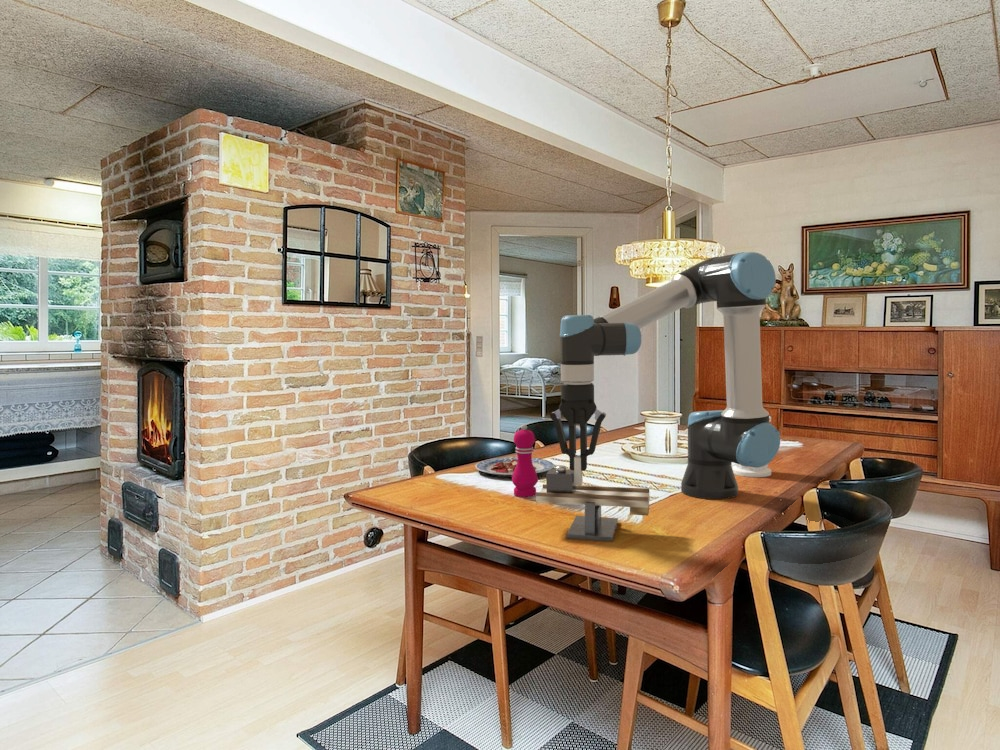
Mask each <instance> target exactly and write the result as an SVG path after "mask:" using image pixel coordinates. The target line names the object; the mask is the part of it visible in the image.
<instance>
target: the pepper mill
mask: <svg viewBox="0 0 1000 750" xmlns="http://www.w3.org/2000/svg"><path fill="white" fill-rule="evenodd" d="M535 442H536V436H535V434H534V433H533V431H532V430H529V429H528V426H527V424H521V425H520V430H518V431H516V432H515V433H514V435H513V443H514V445H516V447H515V453H516V457H518V458H517V465H516V468H515V470H514V472H513V475H512V477H511V482H512V484H513V485H514V486H515V487H514V488H513V495H514V497H517V498H532V497H536V492H537V488H536V487H535V486H536V484H537V483H538V480H539V479H538V474H537V473H536V471H535V469H534V467H533V464H532V458H533V457H532V456H533V452H534V447H533V445H534V444H535Z"/></svg>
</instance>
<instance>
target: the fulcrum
mask: <svg viewBox="0 0 1000 750" xmlns="http://www.w3.org/2000/svg"><path fill="white" fill-rule="evenodd" d="M584 506H585V507H584V515H576V516H575V517H574V519H573V521H572V524H571V525H570V527H569V529H568V530H567V532H566V539H570V540H584V541H597V542H599V541H600V542H611V543H612V542H614V541H613V540H614V538H615V534H616V529H617V527H618V523H619V521H618V520H619V518H618V517H605V516H602V506H598V505H595V502H585V505H584Z"/></svg>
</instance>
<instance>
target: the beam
mask: <svg viewBox="0 0 1000 750" xmlns="http://www.w3.org/2000/svg"><path fill="white" fill-rule="evenodd" d="M535 501H536V503H538V504H539V503H540V504H557V505H558V504H559V505H560V504H561V505H581V506H583V505H584V506H585V502H595V505H598V506H601V507H618V508H619V507H622V508H623V507H624V508H629V515H632V516H633V515H634V516H649V515H650V514H649V513H650V488H647V487H624V486H621V487H620V486H619V487H618V486H596V485H595V486H594V485H581V486H577V485H576V491H575V493H574V494H570V493H547V484H545V483H542V488H541V490H540V491H536V495H535Z"/></svg>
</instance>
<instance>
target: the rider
mask: <svg viewBox="0 0 1000 750" xmlns="http://www.w3.org/2000/svg"><path fill="white" fill-rule="evenodd" d="M545 477H546V479H545V481H546V482H545V483H546V484H547V493H570V494H574V493H575V491H576V486H577V485H574V470H570V468H569V469H567V466H566V465H556V466H555V468H552V469H550V470H548V471H546V473H545Z"/></svg>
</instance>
